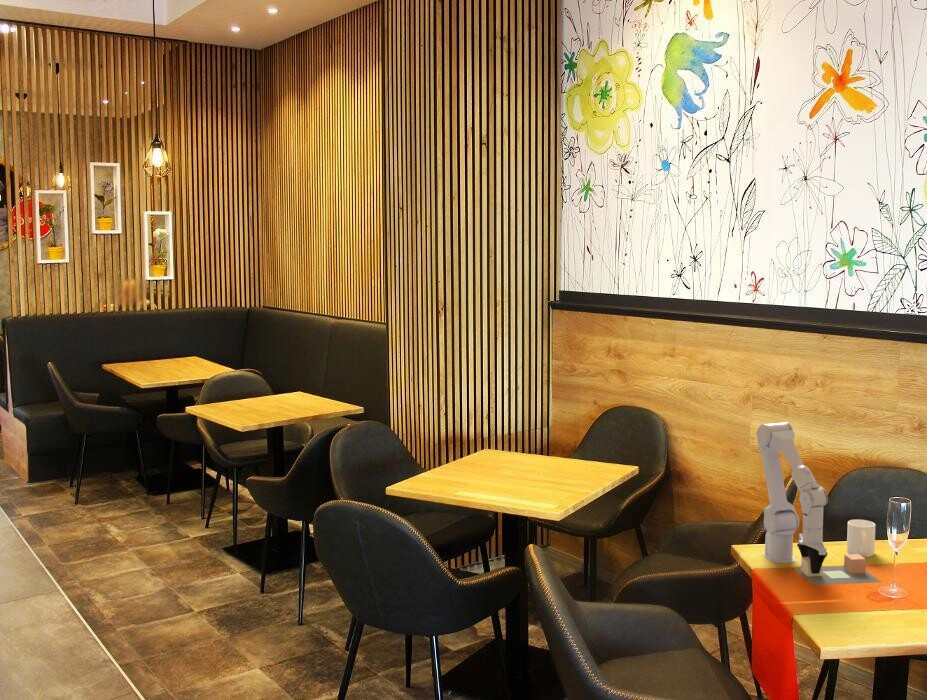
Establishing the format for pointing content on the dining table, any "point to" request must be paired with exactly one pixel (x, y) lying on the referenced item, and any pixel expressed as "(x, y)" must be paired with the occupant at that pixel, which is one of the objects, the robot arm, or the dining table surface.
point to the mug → (861, 537)
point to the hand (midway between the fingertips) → (811, 570)
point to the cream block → (808, 567)
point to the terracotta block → (854, 563)
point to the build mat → (838, 576)
